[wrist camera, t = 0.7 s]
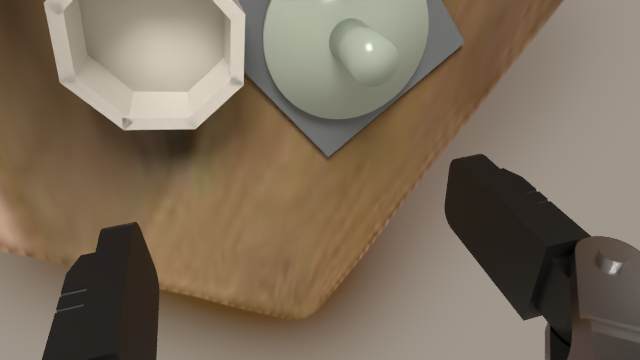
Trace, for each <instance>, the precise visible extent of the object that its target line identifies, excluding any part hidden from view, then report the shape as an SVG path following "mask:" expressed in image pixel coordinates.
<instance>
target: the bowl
mask: <svg viewBox="0 0 640 360" xmlns="http://www.w3.org/2000/svg"><path fill="white" fill-rule="evenodd" d="M43 4H44V7H45V11H46V16H47V21H48V26H49V31H50V36H51V41H52V46H53V51H54V56H55V61H56V66H57V71H58V76H59V81H60V83H61V84H62V85H64V86H65V87H66V88H68V89H69V90H70V91H72V92H73V93H75V94H76V95H77V96H79V97H80V98H81V99H83V100H84V101H85V102H87V103H88V104H89V105H91V106H92V107H93V108H95V109H96V110H97V111H99V112H100V113H102V114H103V115H104V116H106V117H107V118H108V119H110V120H111V121H112V122H114V123H115V124H116V125H118V126H119V127H120V128H122V129H123V130H171V129H196V128H197V127H198V126H199V125H201V124H202V123H203V122H204V121H205V120H206V119H207V118H208V117H209V116H210V115H211V114H213V113H214V112H215V111H216V110H217V109H218V108H219V107H220V106H221V105H222V104H224V103H225V102H226V101H227V100H228V99H229V98H230V97H231V96H232V95H233V94H234V93H236V92H237V91H238V90H239V89H240V88H241V87H242V86H244V46H245V13H244V11H243V9H242V7H241V5H240V4H239V2H238V0H46V1H45V2H44V3H43Z"/></svg>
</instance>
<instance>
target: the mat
mask: <svg viewBox="0 0 640 360" xmlns="http://www.w3.org/2000/svg"><path fill="white" fill-rule="evenodd" d="M238 2H239V4H240V5H241V7H242V9H243V11H244V13H245V46H244V73H245V74H246V75H247V76H248V77H249V78H250V79H251V80H252V81H253V82H254V83H255V84H256V85H257V86H258V87H259V88H260V89H261V90H262V91H263V92H264V93H265V94H266V95H267V96H268V97H269V98H270V99H271V100H272V101H273V102H274V103H275V104H276V105H277V106H278V107H279V108H280V109H281V110H282V111H283V112H284V113H285V114H286V115H287V116H288V117H289V118H290V119H291V120H292V121H293V122H294V123H295V124H296V125H297V126H298V127H299V128H300V129H301V130H302V131H303V132H304V133H305V134H306V135H307V136H308V137H309V138H310V139H311V140H312V141H313V142H314V143H315V144H316V145H317V146H318V147H319V148H320V149H321V150H322V151H323V152H324V153H325V154H326V155H327V156H328V157H329V156H330V155H332V154H333V153H334V152H335V151H336V150H338V149H339V148H340V147H341V146H342V145H343V144H345V143H346V142H347V141H348V140H349V139H351V138H352V137H353V136H354V135H355V134H357V133H358V132H359V131H360V130H361V129H363V128H364V127H365V126H366V125H367V124H368V123H370V122H371V121H372V120H373V119H374V118H376V117H377V116H378V115H379V114H380V113H382V112H383V111H384V110H385V109H386V108H388V107H389V106H390V105H391V104H392V103H393V102H395V101H396V100H397V99H398V98H399V97H401V96H402V95H403V94H404V93H405V92H407V91H408V90H409V89H410V88H411V87H413V86H414V85H415V84H416V83H417V82H419V81H420V80H421V79H422V78H423V77H424V76H426V75H427V74H428V73H429V72H430V71H432V70H433V69H434V68H435V67H436V66H438V65H439V64H440V63H441V62H442V61H444V60H445V59H446V58H447V57H448V56H449V55H451V54H452V53H453V52H454V51H455V50H457V49H458V48H459V47H460V46H461V45H463V44H464V43H465V41H464V40H463V38H462V36H461V34H460V32H459V31H458V29H457V27H456V25H455V23H454V22H453V20H452V18H451V16H450V14H449V13H448V11H447V9H446V7H445V5H444V4H443V2H442V0H426V2H427V8H428V17H429V27H428V36H427V42H426V46H425V50H424V53H423V56H422V58H421V61H420V63H419V65H418V67H417V69H416V71H415V73H414V74H413V76H412V77H411V79H410V80H409V81H408V83H407V84H406V85H405V86H404V88H403V89H402V90H401V91H400V92H399V93H398V94H397V95H396V96H395V97H394V98H392V99H391V100H390V101H388V102H387V103H386V104H384V105H383V106H381V107H379V108H378V109H376V110H374V111H372V112H370V113H367V114H364V115H361V116H358V117H354V118H349V119H327V118H321V117H317V116H314V115H311V114H309V113H307V112H305V111H303V110H301V109H299V108H298V107H296V106H295V105H293V104H292V103H291V102H290V101H289V100H288V99H287V98H286V97H285V96H284V95H283V94H282V92H281V91H280V90H279V89H278V87H277V85H276V84H275V82H274V80H273V79H272V77H271V74H270V72H269V70H268V68H267V65H266V62H265V58H264V54H263V47H262V27H263V19H264V15H265V11H266V8H267V5H268V2H269V0H238Z"/></svg>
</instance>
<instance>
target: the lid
mask: <svg viewBox="0 0 640 360" xmlns="http://www.w3.org/2000/svg"><path fill="white" fill-rule="evenodd" d="M428 27H429V17H428V8H427V2H426V0H269V2H268V5H267V8H266V11H265V15H264V19H263V27H262V47H263V54H264V58H265V62H266V65H267V68H268V70H269V72H270V74H271V77H272V79H273V80H274V82H275V84H276V85H277V87H278V89H279V90H280V91H281V92H282V94H283V95H284V96H285V97H286V98H287V99H288V100H289V101H290V102H291V103H292V104H293V105H295V106H296V107H298V108H299V109H301V110H303V111H305V112H307V113H309V114H311V115H314V116H317V117H321V118H327V119H349V118H354V117H358V116H361V115H364V114H367V113H370V112H372V111H374V110H376V109H378V108H379V107H381V106H383V105H384V104H386V103H387V102H388V101H390V100H391V99H392V98H394V97H395V96H396V95H397V94H398V93H399V92H400V91H401V90H402V89H403V88H404V86H405V85H406V84H407V83H408V81H409V80H410V79H411V77H412V76H413V74H414V73H415V71H416V69H417V67H418V65H419V63H420V61H421V58H422V56H423V53H424V50H425V46H426V42H427V36H428Z"/></svg>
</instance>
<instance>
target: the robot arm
mask: <svg viewBox="0 0 640 360" xmlns="http://www.w3.org/2000/svg"><path fill="white" fill-rule="evenodd" d="M445 215H446V219H447V221H448V224H449V225H450V227H451V229H452V230H453V231H454V232H455V234H456V235H457V236H458V237H459V239H460V240H461V241H462V243H463V244H464V245H465V246H466V248H467V249H468V250H469V251H470V253H471V254H472V255H473V257H474V258H475V259H476V260H477V262H478V263H479V264H480V266H481V267H482V268H483V269H484V270H485V272H486V273H487V274H488V276H489V277H490V278H491V279H492V281H493V282H494V283H495V285H496V286H497V287H498V288H499V290H500V291H501V292H502V293H503V295H504V296H505V297H506V299H507V300H508V301H509V302H510V304H511V305H512V306H513V308H514V309H515V310H516V311H517V313H518V314H519V315H520V316H521V318H522V319H523V320H527V319H531V318H534V317H538V316H541V315H542V316H543V317H544V318H545V319H546V320H547V322H548V323H547V326H546V328H545V360H640V251H639V250H638V249H636V248H634V247H633V246H631V245H629V244H627V243H625V242H623V241H620V240H617V239H614V238H609V237H603V236H593V237H591V236H590V235H589V234H588V233H587V232H585V231H584V230H583V229H582V228H581V227H580V226H578V225H577V224H576V223H575V222H574V221H573V220H571V219H570V218H569V217H568V216H567V215H566V214H564V213H563V212H562V211H561V210H560V209H559V208H557V207H556V206H555V205H554V204H553V203H552V202H551V201H550V202H548V200H547V198H546V197H545V196H543V195H542V194H541V193H540V192H537V191H536V189H535V188H534V187H533V186H532V185H531V184H530V183H529V182H527V181H526V180H525V179H524V178H523V177H521V176H519V175H517V174H514V173H512V172H510V171H508V170H506V169H504V168H503V169H499V168H498V167H497V166H496V165H495V164H494V163H493V162H491V161H490V160H489V159H488V158H487V157H486V156H485V155H483V154H477V155H473V156H467V157H462V158H458V159H454V160H452V162H451V164H450V168H449V175H448V183H447V191H446V198H445ZM56 310H57V313H55V315H54V319H53V323H52V326H51V330H50V333H49V336H48V340H47V344H46V347H45V350H44V354H43V357H42V360H156V353H157V331H158V310H159V283H158V277H157V272H156V269H155V266H154V263H153V261H152V258H151V255H150V253H149V250H148V248H147V245H146V242H145V240H144V237H143V234H142V232H141V229H140V227H139V225H138V224H137V223H136V222H133V223H128V224H123V225H118V226H113V227H108V228H103V229H101V231H100V234H99V239H98V243H97V248H96V252H95V253H90V254H85V255H81V256H80V257H79V258H78V260H77V261H76V262H75V264H74V265H73V266H72V267H71V269H70V270H69V271H68V272H67V274H66V277H65V280H64V284H63V287H62V291H61V297H60V298H59V301H58V305H57V308H56Z"/></svg>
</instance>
